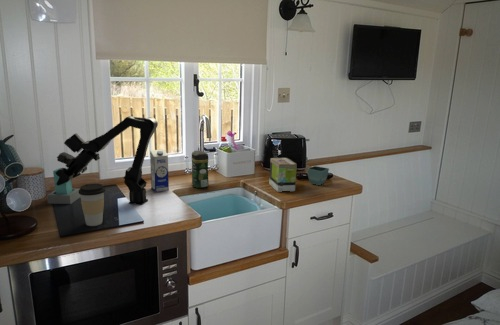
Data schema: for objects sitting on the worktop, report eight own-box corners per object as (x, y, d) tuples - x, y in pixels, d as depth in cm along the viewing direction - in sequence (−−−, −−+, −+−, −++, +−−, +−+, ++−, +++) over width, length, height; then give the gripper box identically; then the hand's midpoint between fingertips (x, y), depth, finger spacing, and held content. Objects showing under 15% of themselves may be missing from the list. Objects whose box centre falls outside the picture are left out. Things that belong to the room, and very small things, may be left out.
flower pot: (313, 181, 211) (314, 165, 209) (328, 184, 206) (329, 168, 204) (306, 184, 204) (307, 168, 202) (321, 187, 199) (322, 171, 197)
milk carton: (164, 186, 193) (163, 148, 188) (169, 190, 188) (168, 151, 183) (151, 188, 190) (149, 150, 185) (155, 192, 184) (154, 152, 179)
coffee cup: (86, 218, 150) (83, 182, 146) (110, 218, 151) (107, 182, 147) (77, 228, 141) (74, 190, 137) (103, 228, 142) (100, 190, 138)
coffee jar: (190, 183, 199) (189, 149, 195) (204, 182, 202) (204, 148, 198) (195, 189, 191) (195, 153, 186) (210, 187, 194) (210, 152, 190)
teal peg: (72, 195, 172) (69, 168, 169) (67, 199, 167) (64, 171, 164) (62, 195, 172) (58, 168, 169) (56, 199, 167) (53, 171, 164)
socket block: (80, 196, 175) (80, 188, 174) (70, 204, 165) (69, 195, 164) (59, 196, 175) (58, 187, 174) (47, 203, 165) (47, 194, 164)
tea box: (295, 191, 192) (297, 163, 188) (277, 192, 189) (278, 164, 186) (286, 183, 206) (287, 156, 202) (268, 183, 203) (269, 157, 200)
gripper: (78, 142, 173) (56, 165, 176) (57, 151, 155) (34, 176, 157) (96, 159, 175) (75, 181, 177) (78, 170, 157) (54, 194, 159)
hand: (60, 183), depth 168 cm, fingers closed on teal peg, 5 cm apart
